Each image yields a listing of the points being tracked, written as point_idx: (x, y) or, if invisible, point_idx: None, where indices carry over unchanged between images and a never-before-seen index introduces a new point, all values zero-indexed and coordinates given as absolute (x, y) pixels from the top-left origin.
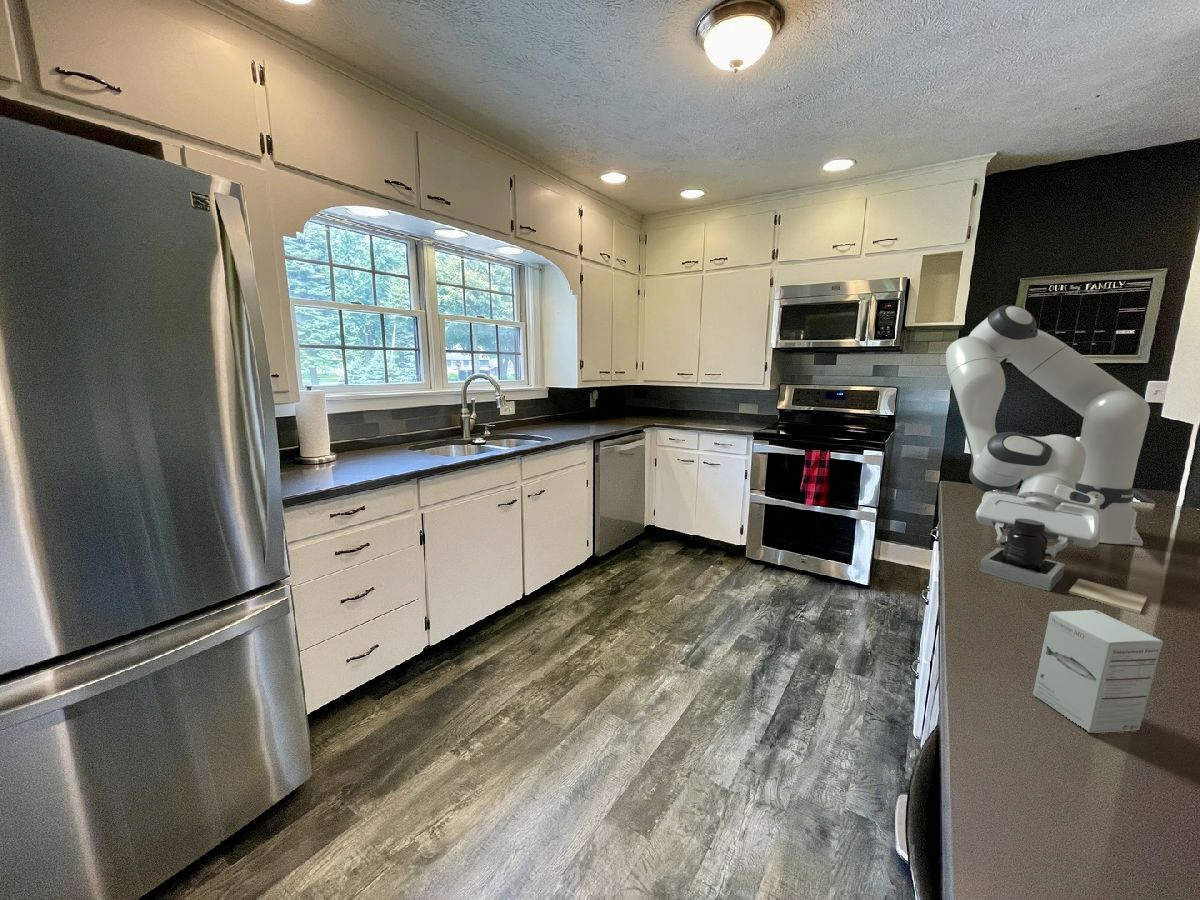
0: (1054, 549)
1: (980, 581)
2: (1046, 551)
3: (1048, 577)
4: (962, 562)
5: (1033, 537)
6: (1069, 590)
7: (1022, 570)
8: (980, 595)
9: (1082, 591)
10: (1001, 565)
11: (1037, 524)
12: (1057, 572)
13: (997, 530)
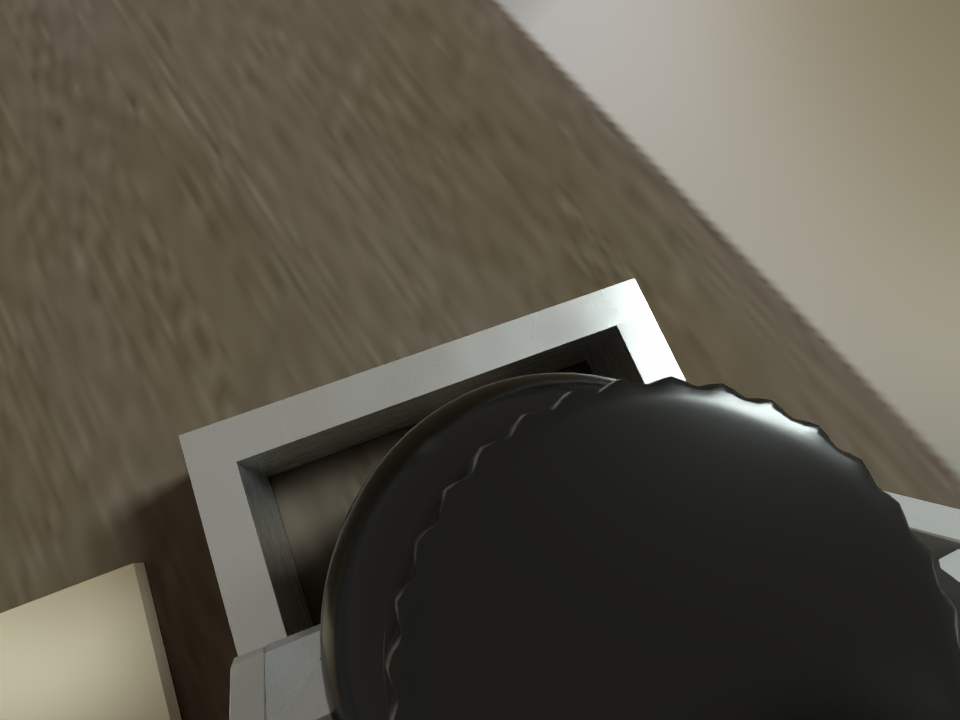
0: (243, 708)
1: (477, 180)
2: (312, 628)
3: (205, 430)
4: (757, 364)
5: (423, 490)
6: (135, 580)
7: (377, 372)
8: (339, 13)
9: (77, 673)
10: (507, 326)
11: (455, 576)
12: (237, 647)
13: (904, 502)
